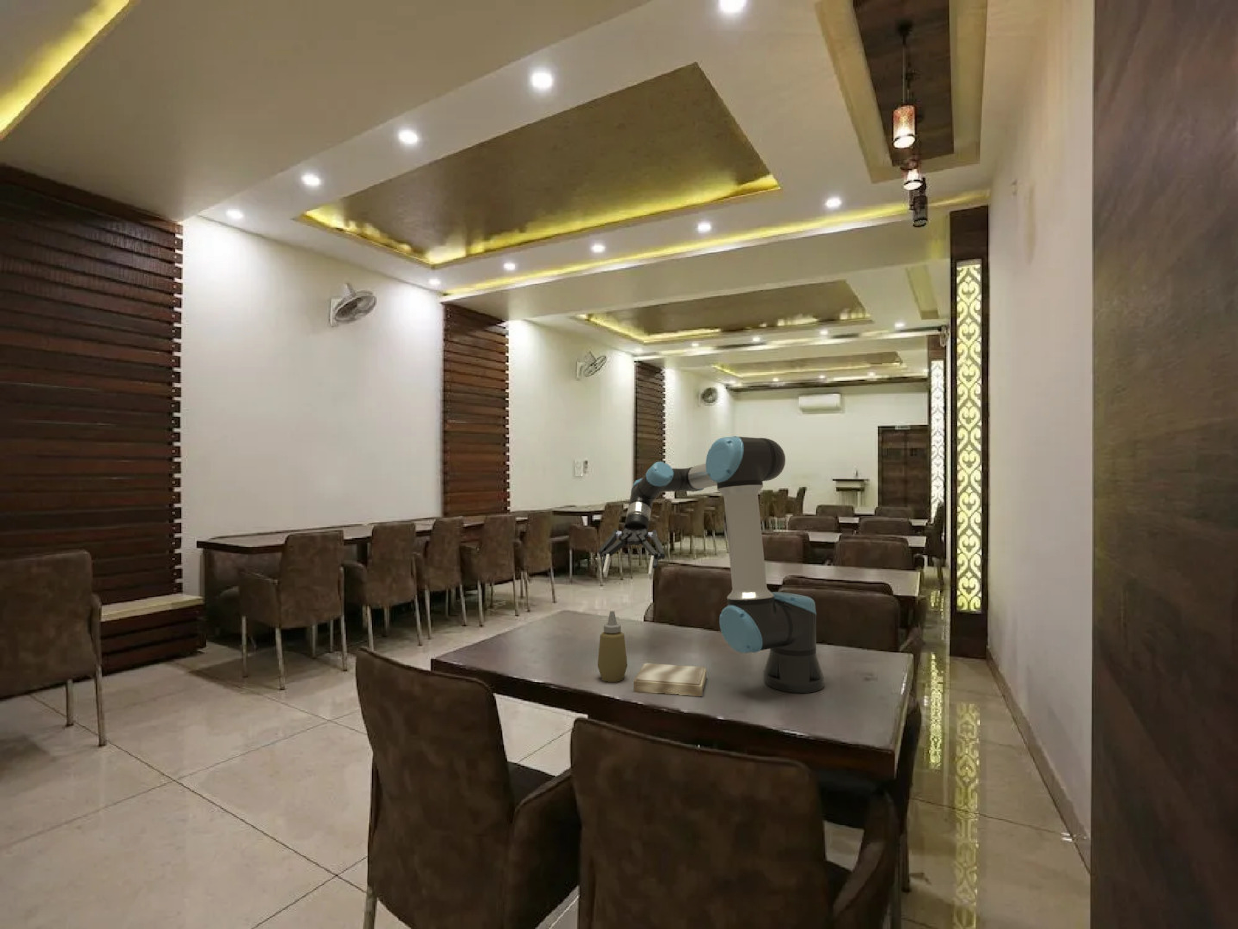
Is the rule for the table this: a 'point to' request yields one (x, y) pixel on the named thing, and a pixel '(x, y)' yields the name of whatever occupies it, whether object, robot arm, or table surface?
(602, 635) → the squeeze bottle
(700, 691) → the stand
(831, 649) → the table surface
